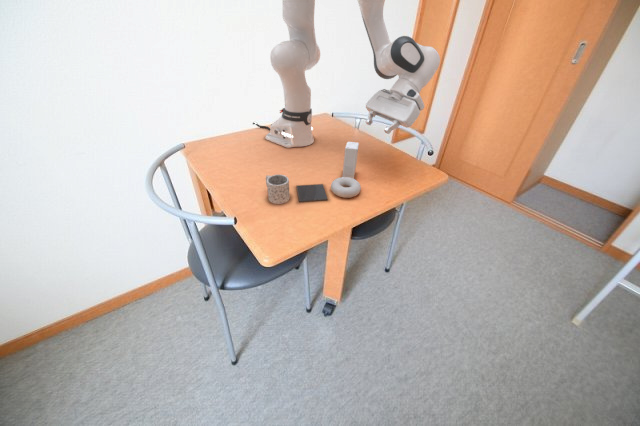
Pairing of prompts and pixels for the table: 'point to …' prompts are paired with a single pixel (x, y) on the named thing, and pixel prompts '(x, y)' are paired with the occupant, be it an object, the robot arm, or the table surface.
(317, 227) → the table surface
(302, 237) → the table surface
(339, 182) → the donut
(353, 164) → the cosmetic box
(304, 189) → the slate coaster
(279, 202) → the mug
